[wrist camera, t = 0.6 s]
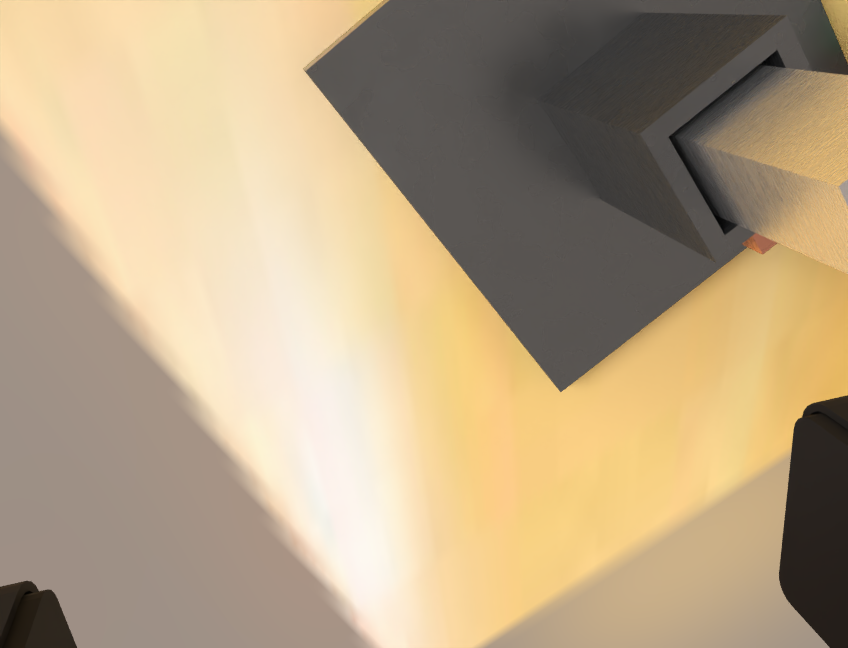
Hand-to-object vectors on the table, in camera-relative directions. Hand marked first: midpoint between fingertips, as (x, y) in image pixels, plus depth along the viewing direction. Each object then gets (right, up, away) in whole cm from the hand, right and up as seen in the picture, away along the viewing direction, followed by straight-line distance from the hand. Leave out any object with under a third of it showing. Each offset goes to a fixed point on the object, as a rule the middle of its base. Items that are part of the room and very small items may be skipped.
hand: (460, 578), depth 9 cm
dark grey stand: (+9, +14, +29) cm, 34 cm away
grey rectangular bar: (+9, +13, +28) cm, 32 cm away
